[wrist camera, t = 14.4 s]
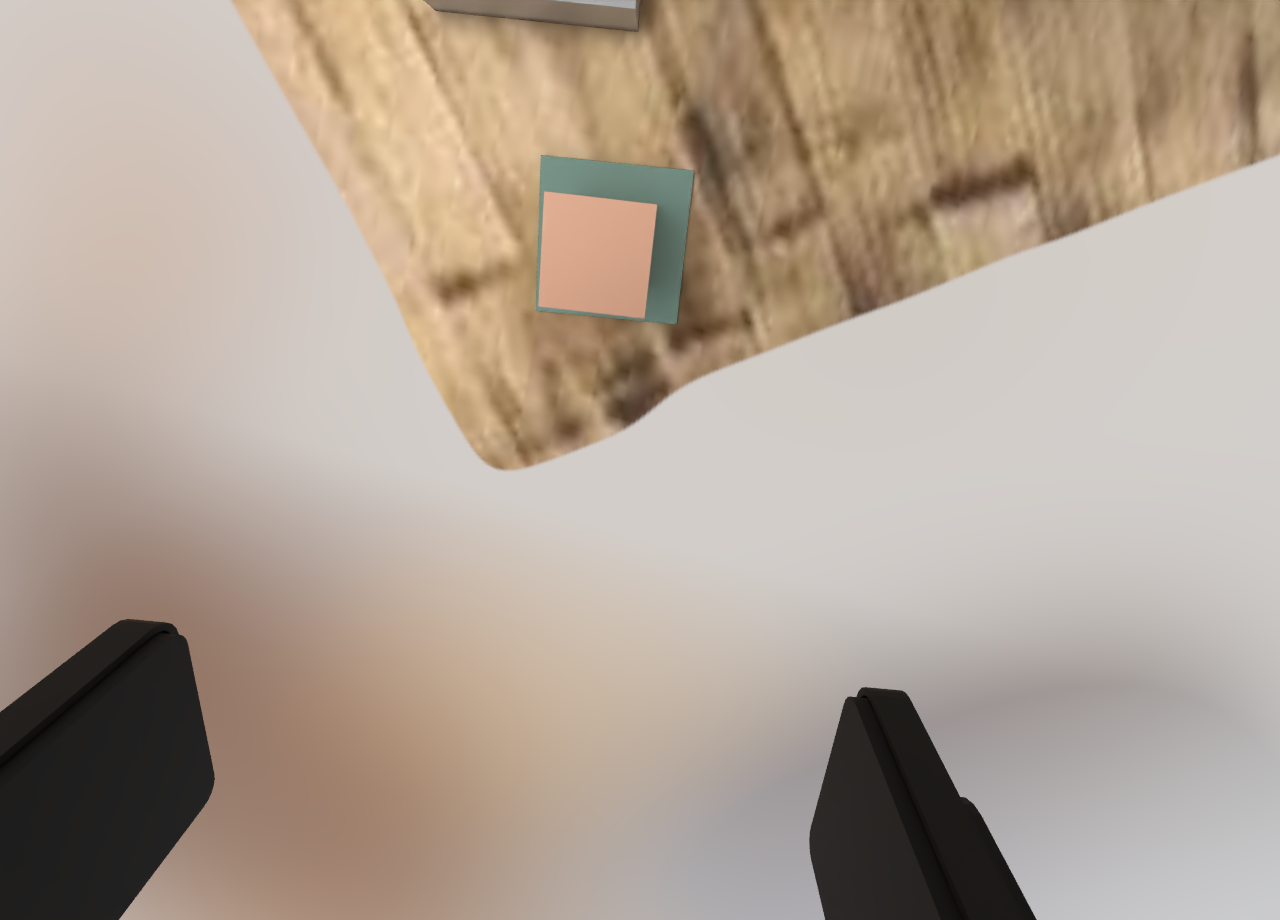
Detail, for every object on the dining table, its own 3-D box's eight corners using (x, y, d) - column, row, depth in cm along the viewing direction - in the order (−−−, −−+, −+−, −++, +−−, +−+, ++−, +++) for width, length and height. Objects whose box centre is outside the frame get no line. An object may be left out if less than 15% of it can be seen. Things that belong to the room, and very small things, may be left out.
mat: (693, 171, 34) (693, 170, 34) (676, 322, 37) (676, 324, 37) (542, 155, 34) (540, 155, 34) (537, 309, 37) (535, 310, 37)
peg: (657, 204, 34) (657, 204, 25) (647, 288, 36) (644, 318, 27) (574, 194, 34) (544, 191, 25) (569, 279, 36) (538, 306, 27)
